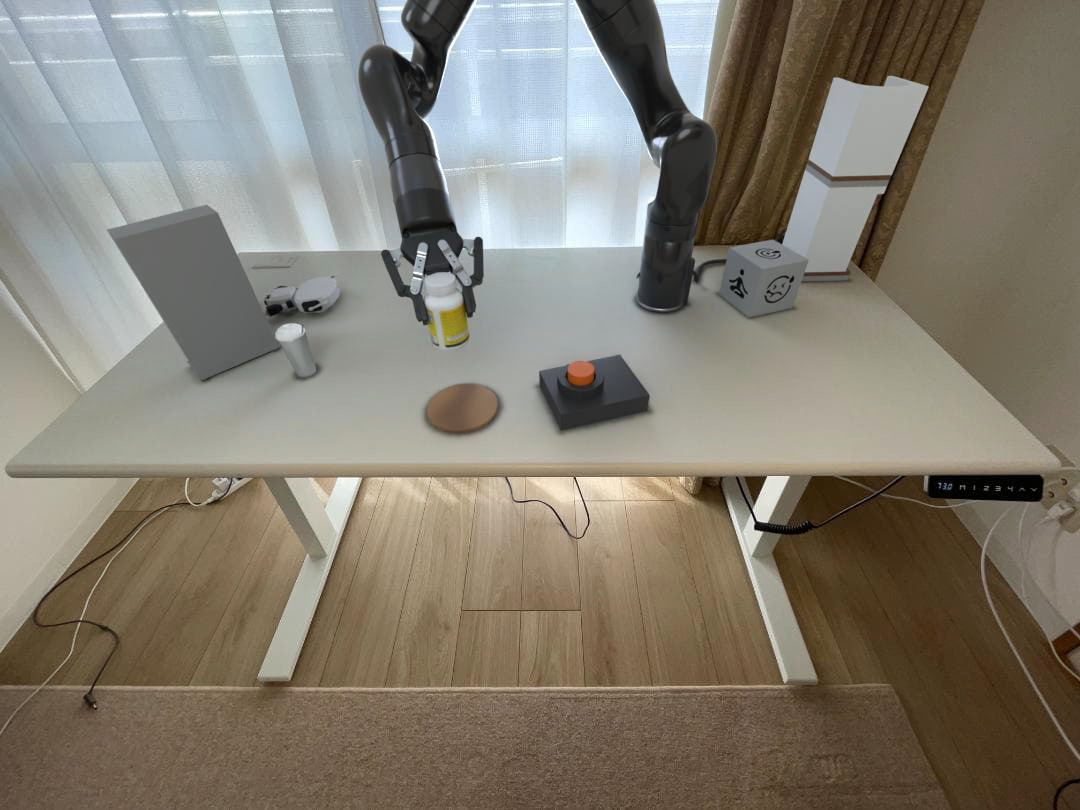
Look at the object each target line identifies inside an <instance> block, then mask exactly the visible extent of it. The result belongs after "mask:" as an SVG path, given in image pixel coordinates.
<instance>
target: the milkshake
mask: <svg viewBox="0 0 1080 810" xmlns="http://www.w3.org/2000/svg"><path fill="white" fill-rule="evenodd" d="M304 325H305V324H304V323H302V324H298V323H293V322H291V323H285V324H282V325H280V326H279V327H278V328H277V329H276V331H275V333H274V336H275V338H276V340H277V341H278V343H279V345H280V348H281V350H282V351H283V352H284V354H285V355H286V358H287V360H288V361H289V363H290V365H291V367H292V369H293V370H294V372H295V374H296V375H297V377H299V378H309V377H311V376H312V375H314V374H316V372H317V366H316V363H315V359H314V355H313V353H312V350H311V346H310V343H309V339H308V336H307V332H306V329H305V326H304Z"/></svg>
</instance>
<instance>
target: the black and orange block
mask: <svg viewBox="0 0 1080 810" xmlns="http://www.w3.org/2000/svg"><path fill="white" fill-rule="evenodd" d="M586 362H589V363H591V364H592V365H593V366H594V380H593V382H592V383H590V384H588V385H584V386H580V385H574V384H572V383H570V382H569V381H568V366H569V365H570V364H571V363H568V364H565V365H562V366H561V365H560V366H556V367H551V368H547V369H541V370H539V371H538V373H539V375H538V376H539V388H540V390H541V393H542V394H543V396H544V398H545V401H546V403H547V404H548V408H549V409H550V411H551V413H552V416H553V417H554V420H555V421H556V424H557V425H558V428H559V430H560V431H566V430H570V429H575V428H579V427H583V426H587V425H592V424H596V423H602V422H604V421H605V422H606V421H611V420H613V419H618V418H623V417H627V416H632V415H635V414H639V413H644V412H648V410H649V409H648V408H649V403H650V397H651V396H650V393H649V391H647V389H646V388H645V386H644V384H642V382H641V381H640V380H639V378H638V377H637V375H636V374H635V373H634V372H633V370H632V369H631V367H630V366H629V365H628V363H627V362H626V360H625V359H624V358H623V356H622V355H621V354H616V355H611V356H606V357H600V358H597V359H592V360H586Z"/></svg>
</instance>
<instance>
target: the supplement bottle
mask: <svg viewBox="0 0 1080 810" xmlns="http://www.w3.org/2000/svg"><path fill="white" fill-rule="evenodd" d="M424 285H425V289H426V293H425V295H424V297H423V301H424V306H425V310H426V315H427V320H428V325H427V326H428V331H429V335H430V340H431V343H432V346H433V347H434V348H436V349H437V350H439V351H445V352H451V351H457V350H460V349H462V348H464V347H465V346H466V345H467V344H468V343H469V341H470V331H469V323H468V318H467V314H466V309H465V303H464V297H463V294H462V290H460V289H459V288H457V280H456V279H455V276H454V275H453V274H451V273H450V272H439V273H434V274H431V275H428V276H426V277H425V280H424Z"/></svg>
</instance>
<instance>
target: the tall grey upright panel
mask: <svg viewBox="0 0 1080 810" xmlns="http://www.w3.org/2000/svg"><path fill="white" fill-rule="evenodd" d="M106 231H107V233H108V234H109V236H110V238H111V239H112V241H113V242H114V244H115V245H116V247H117V249H118V250H119V252H120V254H121V255H122V257H123V258H124V260H125V261H126V262H125V263H127V265H128V267H129V268H130V270H131V271H132V273H133V275H134V276H135V278H136V279H137V281H138V282H139V284H140V286H141V287H142V289H143V290H144V292H145V294H146V296H147V297H148V299H149V301H150V302H151V304H152V305H153V307H154V308H155V310H156V311H157V313H158V315H159V316H160V318H161V320H162V321H163V323H164V324H165V326H166V328H167V329H168V331H169V333H170V334H171V335H172V338H173V339H174V340H175V342H176V344H177V345H178V347H179V349H180V350H181V353H182V354H183V355H184V356H185V359H186V360H187V361H186V362H187V364H188V365H189V367H190V368H191V369H192V371H193V372H194V373H195V375H196V376H197V378H198V379H199V380H200V381H206V380H207V379H208V378H210V377H213V376H215V375H218V374H220V373H222V372H225V371H227V370H230V369H232V368H234V367H236V366H238V365H241V364H243V363H246V362H248V361H250V360H253V359H256V358H257V357H260V356H263V355H266V354H267V353H270V352H272V351H277V350H278V349H279V348H281V346H280V344H279V343H278V341H277V339H276V338H275V333H274V332H273V330H272V328H271V326H270V323H269V321H268V319H267V316H265V314H264V312H263V310H264V309H263V308H262V306H261V304H260V301H259V299H258V297H257V295H256V293H255V291H254V289H253V286H252V284H251V282H250V280H249V277H248V275H247V273H246V271H245V269H244V266H243V265H242V262H241V260H240V258H239V256H238V254H237V252H236V249H235V247H234V245H233V242H232V240H231V238H230V236H229V233H228V231H227V229H226V227H225V225H224V223H223V221H222V218H221V217H220V214H219V212H218V211H217V210H215V209H213V207H211V206H209V205H208V204H203V205H200V206H195V207H191V208H187V209H184V210H183V209H182V210H180V211H175V212H172V213H171V212H170V213H168V214H164V215H160V216H155V217H151V218H148V219H143V220H139V221H135V222H132V223H128V224H124V225H120V226H116V227H112V228H108V229H107V228H106Z"/></svg>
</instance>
